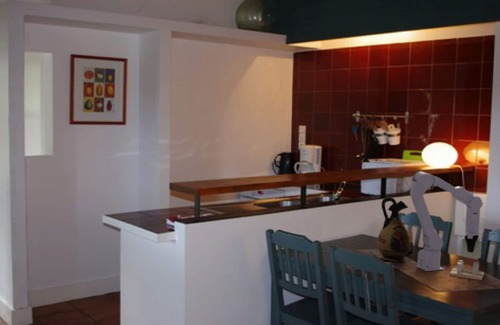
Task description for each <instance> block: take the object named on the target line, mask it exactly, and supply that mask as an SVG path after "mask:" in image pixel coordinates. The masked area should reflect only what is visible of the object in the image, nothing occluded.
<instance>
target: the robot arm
mask: <svg viewBox="0 0 500 325" xmlns="http://www.w3.org/2000/svg"><path fill="white" fill-rule="evenodd" d="M431 187H439V188H440V189H442V190H444V191H445V192H448V193H450V194H451V197H452V199H454V200H456V201H459V202H460V203H461V204H464V205H465V206H466V214H465V229H464V234H465V236H464V237H463V238H465V240H466V243H467V249H468V252H472V253H473V251H474V247H475V243H476V241H477V239H479V237H480V235H482V231H480V218H481V208H482V207H483V205H484V202H483V199H482V198H481V197H479V196H478V195H475V194H474V193H473V192H471V191H468V190H466V188H465V187H464V186H453V185H452V184H450V183H448V182H447V181H445V180H443V179H442V178H440V177H438V176H435V175H432V174H430V173H427V172H424V171H417V172H416V173H415V174H414V175H413V176H412V179H411V186H410V191H409V194H410V198H411V201H412V205H413V206H414V209H415V212H416V215H417V218H418V220H419V223H420V226H421V229H422V232H421V233H422V241H423V244H424V246H423V249H420V250H418V253H417V263H416V264H417V265H416V267H417V268H419V269H421V270H422V271H426V272H430V271H431V272H432V271H434V272H435V271H444V270H445V268H444V267H441V251H442V248H443V246H444V241H443V239H442V237H440V236H439V233H438V232H437V230H436V228H435V227H434V223H433V221H432V218H431V215H430V211H429V209H428V206H427V204H426V201H425V198H424V194H425V193H426V191H427V190H429V188H431Z"/></svg>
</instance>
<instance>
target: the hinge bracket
mask: <svg viewBox="0 0 500 325" xmlns="http://www.w3.org/2000/svg"><path fill="white" fill-rule="evenodd" d="M479 263H480V262H477V261H474V263H473V264H472V269H464V260H463V259H462V260H461V259H459V260H458V262H457V263H456V267H453V268H452V269H451V271H450V272H449V276H451V277H452V276H453V277H456V278H457V277H458V278H466V279H472V280H479V281H480V280H481V281H482V280H483V278H484V277H485V276H484V275H485V271H479V268H480V267H479V266H480V264H479Z"/></svg>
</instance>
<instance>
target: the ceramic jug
mask: <svg viewBox="0 0 500 325" xmlns="http://www.w3.org/2000/svg"><path fill="white" fill-rule="evenodd" d="M387 202H391V203H392V204H391V205H389V207H388V209H386V203H387ZM408 208H409V206H408V205H407V204H406V203H405V202H403V201H402V200H400V201H398V202H397V201H396V199H395V198H394V197H390V196H387V197H384V198H383V199H382V201H381V210H382V213H383V216H384V221H383V226H382V228H381V229H380V231H379V233H378V235H377V236H378V237H377V238H378V239H377V241H376V242H377V243H376V244H377V249H378V251H379V253H380V254H381V256H382V259H383V260H385V261H389V262H394V263H395V262H396V263H401V262H403V260H404V261H405V258H406V256H407V255H408V254H409V253H408V252H409V250H410V247H411V242H410V232H409V233H408V231H407V230H408V228H407V227H406V226H405V224H404V223H403V221H402V219H401V217H400V216H399V215H400V214H399V213H400V211H402V210H406V209H408ZM387 210H388V211H389V212H391V214H390V216H388V213H387Z"/></svg>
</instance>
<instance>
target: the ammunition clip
mask: <svg viewBox="0 0 500 325" xmlns="http://www.w3.org/2000/svg"><path fill="white" fill-rule="evenodd" d="M407 231H408V233H409V236H410V242H411V247H410V250H409V252H412V253H414V239H413V238H414V236H413V233H414V232H413V229H412V228H411V229H410V230H409V228H407Z"/></svg>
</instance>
